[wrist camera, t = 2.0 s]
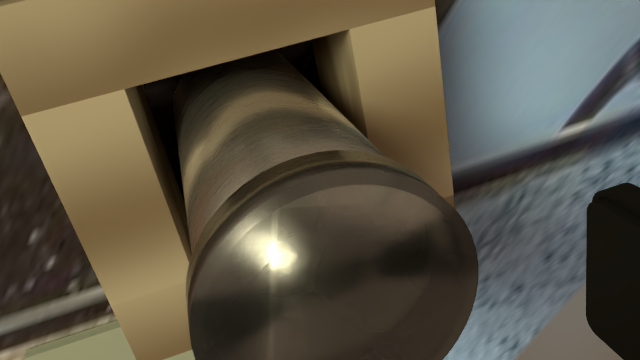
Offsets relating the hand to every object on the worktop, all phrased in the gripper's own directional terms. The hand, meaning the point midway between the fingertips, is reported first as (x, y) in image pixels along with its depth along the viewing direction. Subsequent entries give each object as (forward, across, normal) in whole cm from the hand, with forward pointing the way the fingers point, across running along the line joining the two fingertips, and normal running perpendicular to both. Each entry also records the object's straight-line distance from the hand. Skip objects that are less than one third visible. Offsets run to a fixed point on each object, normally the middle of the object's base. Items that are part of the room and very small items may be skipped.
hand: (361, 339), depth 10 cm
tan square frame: (+12, 0, -1) cm, 12 cm away
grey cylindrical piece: (+12, 0, -1) cm, 12 cm away
